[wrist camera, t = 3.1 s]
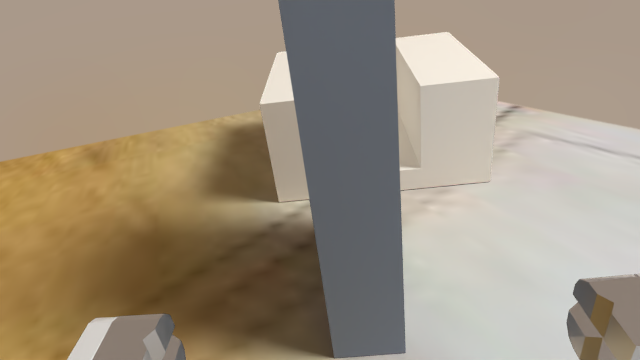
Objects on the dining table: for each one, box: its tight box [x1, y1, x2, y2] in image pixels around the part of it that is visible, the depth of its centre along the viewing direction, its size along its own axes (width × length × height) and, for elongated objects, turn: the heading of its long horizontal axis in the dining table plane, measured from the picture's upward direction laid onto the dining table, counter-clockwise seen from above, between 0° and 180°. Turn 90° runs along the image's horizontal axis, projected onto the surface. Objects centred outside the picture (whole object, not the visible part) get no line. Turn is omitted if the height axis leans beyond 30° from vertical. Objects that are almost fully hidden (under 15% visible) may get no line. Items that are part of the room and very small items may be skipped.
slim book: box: [278, 0, 406, 358], centre depth 18 cm, size 3×9×16 cm, turn 0°
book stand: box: [260, 32, 499, 202], centre depth 33 cm, size 14×12×7 cm
